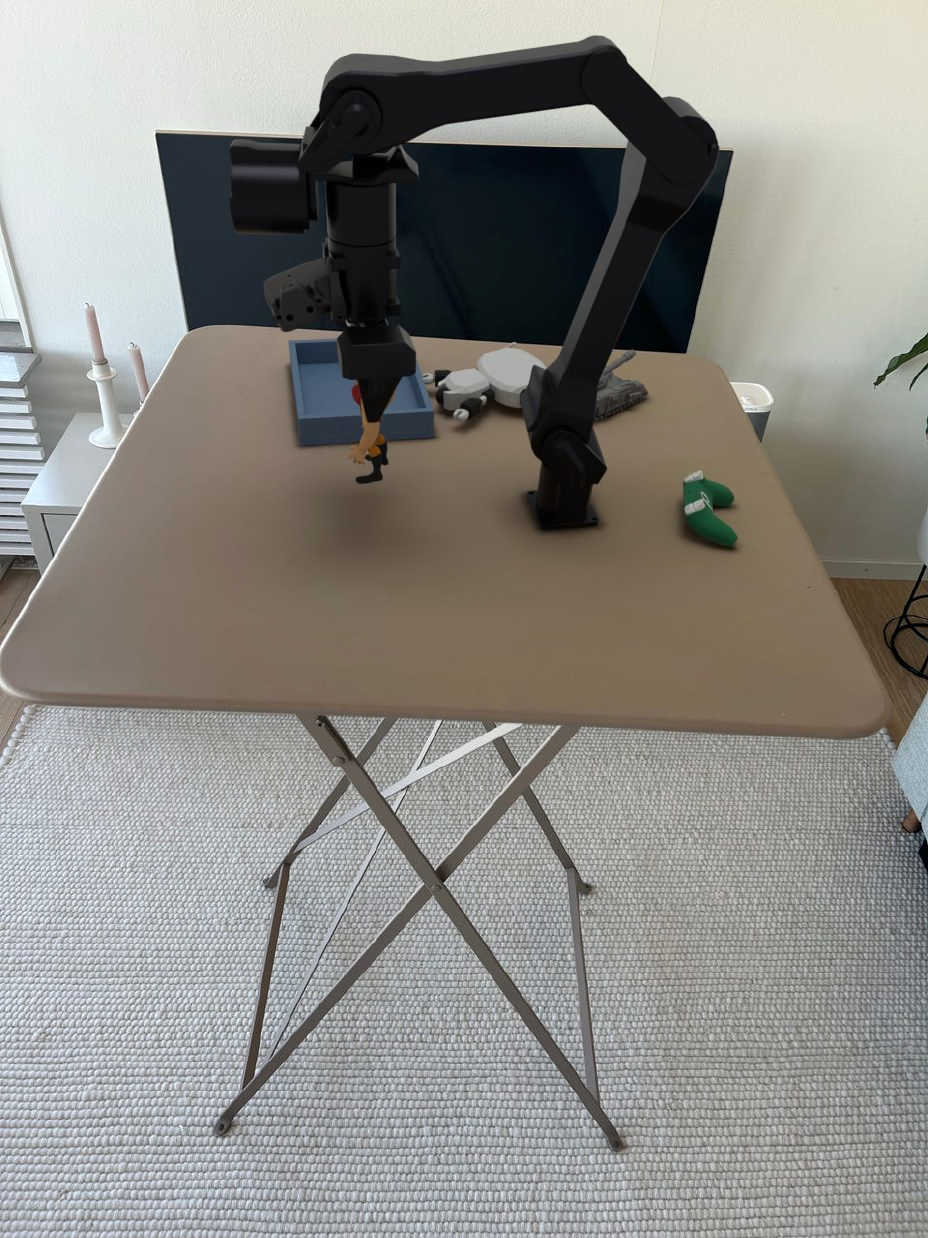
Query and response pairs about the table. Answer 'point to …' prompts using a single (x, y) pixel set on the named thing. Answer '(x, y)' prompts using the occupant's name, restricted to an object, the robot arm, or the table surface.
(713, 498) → the green christmas stockings
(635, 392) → the tank toy
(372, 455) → the action figure
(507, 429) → the table surface
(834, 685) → the table surface
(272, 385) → the table surface
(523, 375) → the robot toy
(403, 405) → the storage bin
